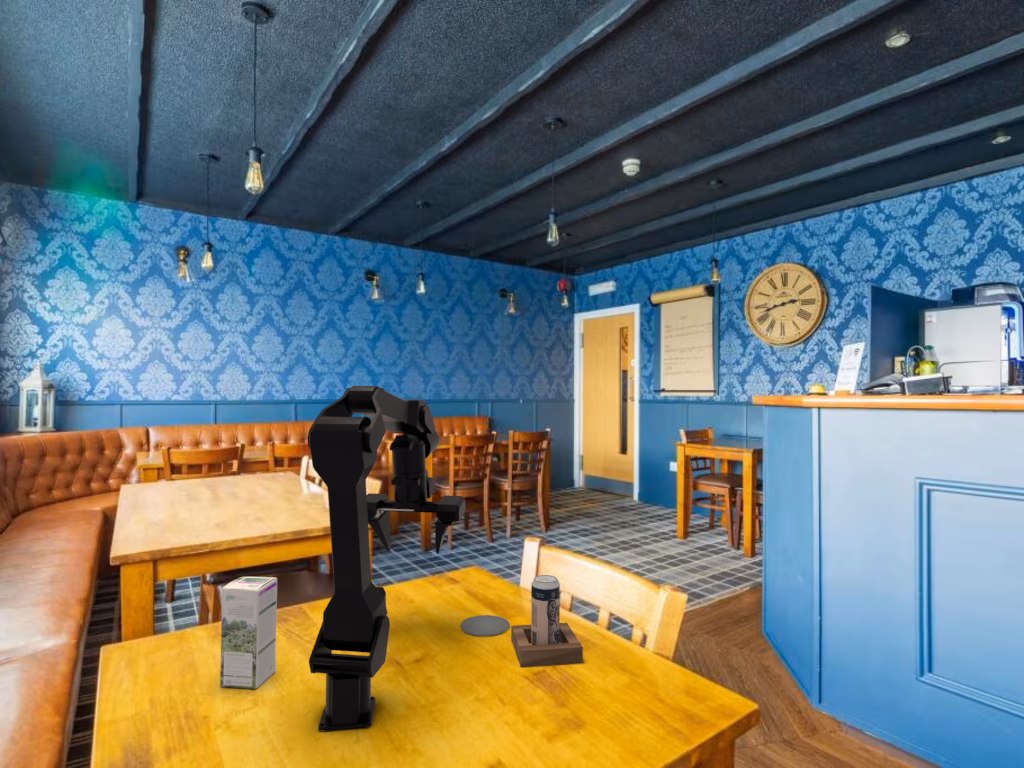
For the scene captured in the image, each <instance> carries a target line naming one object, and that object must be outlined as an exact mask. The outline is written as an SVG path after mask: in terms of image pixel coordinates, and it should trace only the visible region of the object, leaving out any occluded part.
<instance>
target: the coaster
mask: <svg viewBox="0 0 1024 768" xmlns="http://www.w3.org/2000/svg"><path fill="white" fill-rule="evenodd" d="M508 628H509V629H510V622H509V621H508V620H507V619H506V618H504V617H501V616H498V615H492V614H491V615H489V614H481V615H475V616H471V617H468V618H465V619H464V620H462V621H461V623H460V630H461V629H462V630H461V631H462V632H463V631H464V632H463V633H464V634H467V635H468V636H469V635H470V636H474V637H480V636H484V637H485V636H489V637H494V636H493V635H496V636H499V635H498V634H500V635H502V634H504V633H503V632H505V631H506V630H507V629H508ZM509 629H508V630H509ZM508 630H507V631H508ZM507 631H506V632H507ZM506 632H505V633H506ZM501 633H502V634H501ZM484 637H483V638H484Z"/></svg>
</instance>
